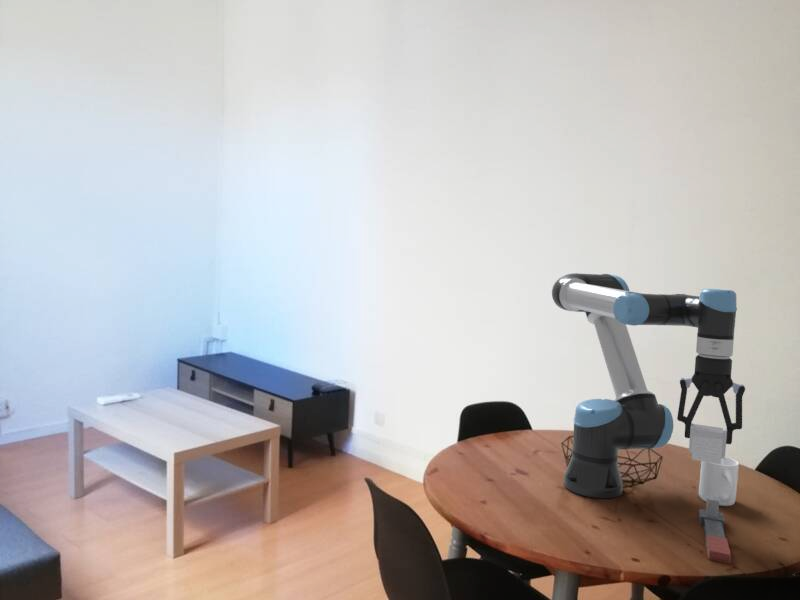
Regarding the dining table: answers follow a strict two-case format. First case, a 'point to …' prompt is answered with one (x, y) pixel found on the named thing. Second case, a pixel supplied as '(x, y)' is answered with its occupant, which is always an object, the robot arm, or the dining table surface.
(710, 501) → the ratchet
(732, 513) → the dining table surface
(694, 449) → the white ridged cube
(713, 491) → the mug
